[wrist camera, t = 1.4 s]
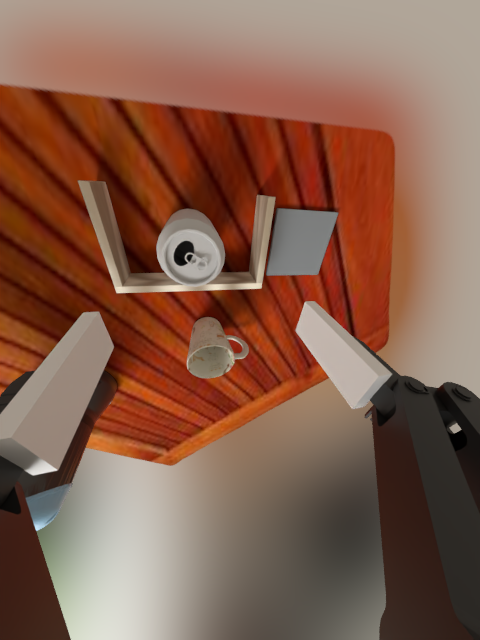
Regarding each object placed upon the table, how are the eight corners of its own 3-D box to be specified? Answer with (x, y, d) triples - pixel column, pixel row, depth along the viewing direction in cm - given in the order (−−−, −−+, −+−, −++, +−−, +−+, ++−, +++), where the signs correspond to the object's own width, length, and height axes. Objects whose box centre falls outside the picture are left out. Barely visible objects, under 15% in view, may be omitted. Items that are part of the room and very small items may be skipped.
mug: (189, 309, 37) (190, 344, 29) (248, 316, 41) (262, 348, 33) (184, 341, 41) (184, 378, 33) (238, 344, 45) (248, 378, 37)
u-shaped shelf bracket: (125, 279, 31) (116, 293, 27) (96, 180, 23) (77, 180, 19) (253, 276, 35) (261, 288, 31) (263, 195, 28) (275, 197, 24)
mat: (265, 274, 36) (267, 275, 35) (276, 208, 29) (278, 208, 29) (316, 273, 38) (317, 274, 38) (336, 212, 32) (338, 212, 31)
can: (179, 195, 26) (174, 202, 16) (224, 228, 29) (241, 250, 20) (157, 242, 28) (141, 272, 19) (200, 267, 32) (205, 302, 23)
